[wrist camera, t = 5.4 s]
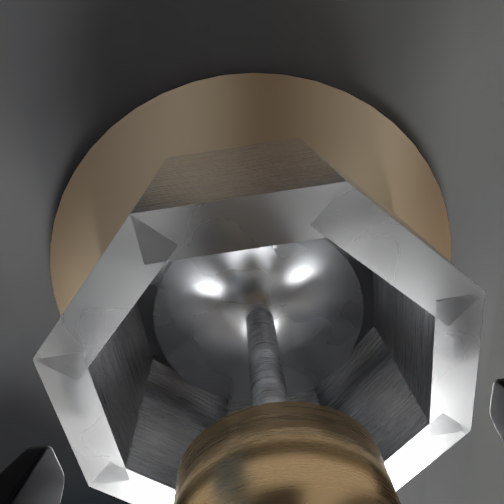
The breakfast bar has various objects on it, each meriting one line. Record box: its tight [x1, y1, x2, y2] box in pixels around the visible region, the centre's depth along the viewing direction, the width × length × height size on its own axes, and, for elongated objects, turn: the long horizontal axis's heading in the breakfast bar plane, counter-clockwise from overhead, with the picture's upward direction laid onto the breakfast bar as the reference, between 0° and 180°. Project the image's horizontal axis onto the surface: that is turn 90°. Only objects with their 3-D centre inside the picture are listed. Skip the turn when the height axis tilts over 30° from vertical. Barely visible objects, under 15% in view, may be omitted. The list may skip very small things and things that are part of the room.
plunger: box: [153, 238, 401, 504], centre depth 9 cm, size 6×6×7 cm
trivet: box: [50, 73, 451, 316], centre depth 14 cm, size 13×13×1 cm
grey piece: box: [33, 137, 486, 504], centre depth 12 cm, size 9×12×5 cm
